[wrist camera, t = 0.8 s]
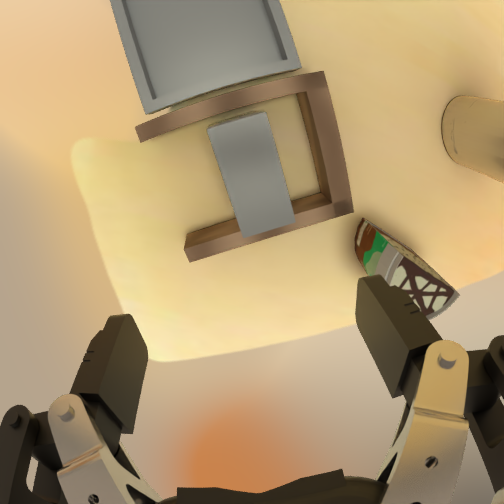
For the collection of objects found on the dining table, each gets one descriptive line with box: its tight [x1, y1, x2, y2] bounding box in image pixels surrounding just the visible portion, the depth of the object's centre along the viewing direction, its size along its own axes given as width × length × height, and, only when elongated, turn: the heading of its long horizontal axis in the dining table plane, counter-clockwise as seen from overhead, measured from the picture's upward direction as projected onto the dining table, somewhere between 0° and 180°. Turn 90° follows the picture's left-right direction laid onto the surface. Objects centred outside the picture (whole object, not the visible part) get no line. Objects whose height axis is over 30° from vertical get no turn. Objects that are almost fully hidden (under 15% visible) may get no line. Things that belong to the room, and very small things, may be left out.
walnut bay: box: [135, 71, 354, 262], centre depth 26 cm, size 16×14×4 cm
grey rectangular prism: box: [207, 111, 296, 238], centre depth 25 cm, size 4×9×7 cm, turn 16°
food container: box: [355, 218, 460, 320], centre depth 30 cm, size 12×6×10 cm, turn 61°
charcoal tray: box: [110, 0, 302, 114], centre depth 20 cm, size 14×15×2 cm
